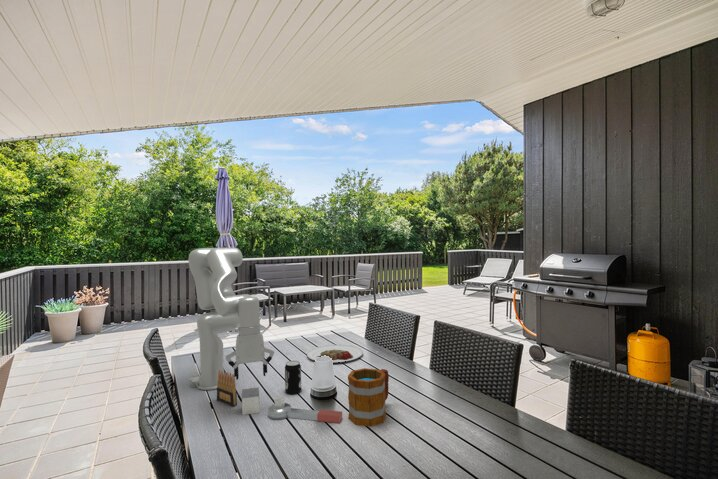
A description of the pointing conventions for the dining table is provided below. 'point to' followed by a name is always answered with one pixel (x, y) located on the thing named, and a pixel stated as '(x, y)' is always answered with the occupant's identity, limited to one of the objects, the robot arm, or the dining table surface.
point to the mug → (367, 396)
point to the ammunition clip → (226, 389)
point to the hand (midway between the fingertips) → (251, 376)
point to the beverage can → (293, 377)
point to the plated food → (336, 352)
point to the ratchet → (301, 413)
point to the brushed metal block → (250, 401)
